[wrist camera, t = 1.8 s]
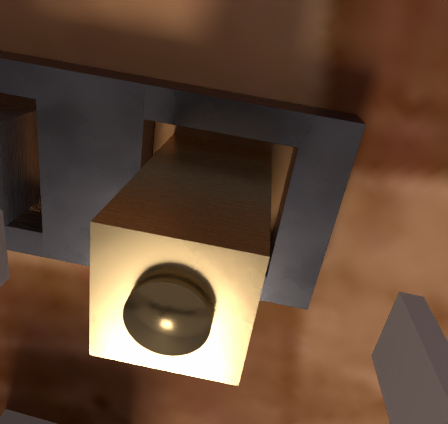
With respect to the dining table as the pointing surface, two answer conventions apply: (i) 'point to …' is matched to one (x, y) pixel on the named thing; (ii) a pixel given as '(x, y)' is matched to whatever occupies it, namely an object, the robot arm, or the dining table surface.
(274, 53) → the dining table surface
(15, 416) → the puzzle toy
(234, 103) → the grey flat plate
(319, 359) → the dining table surface
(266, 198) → the tan block with knob
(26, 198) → the silver block with knob
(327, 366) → the dining table surface
